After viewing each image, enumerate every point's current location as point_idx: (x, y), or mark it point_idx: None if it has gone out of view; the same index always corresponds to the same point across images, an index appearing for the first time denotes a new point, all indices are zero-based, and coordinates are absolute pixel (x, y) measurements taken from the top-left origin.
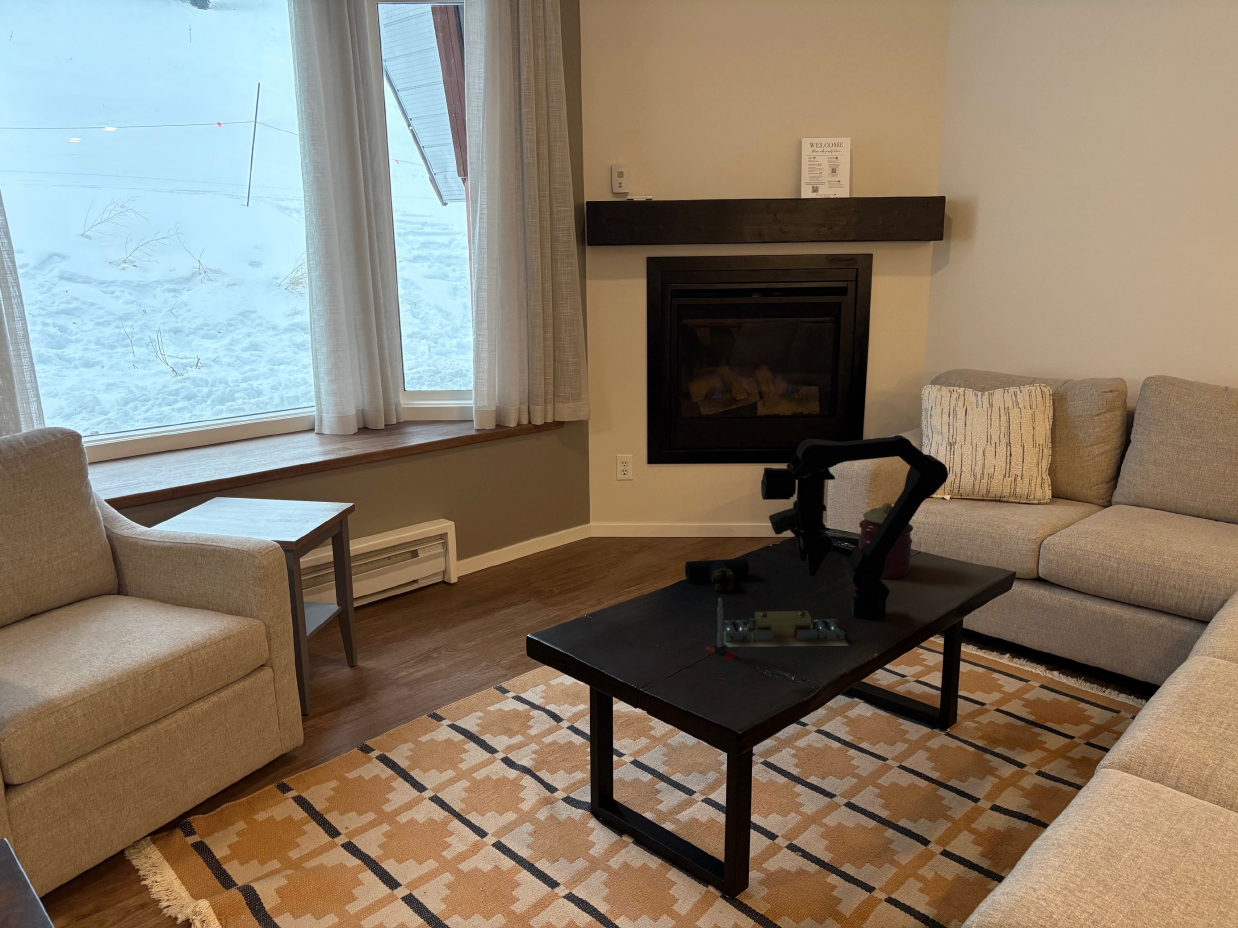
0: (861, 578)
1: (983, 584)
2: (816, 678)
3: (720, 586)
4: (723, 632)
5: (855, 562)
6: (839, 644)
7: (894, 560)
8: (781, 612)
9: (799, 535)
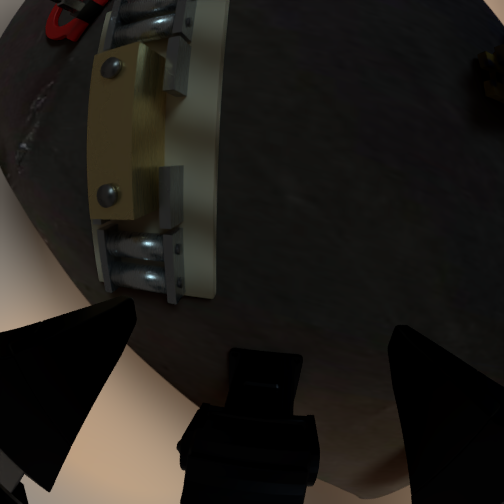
0: (183, 444)
1: (353, 490)
2: (22, 185)
3: (485, 61)
4: (55, 2)
5: (222, 484)
6: (100, 264)
7: None
8: (123, 126)
9: (491, 457)
